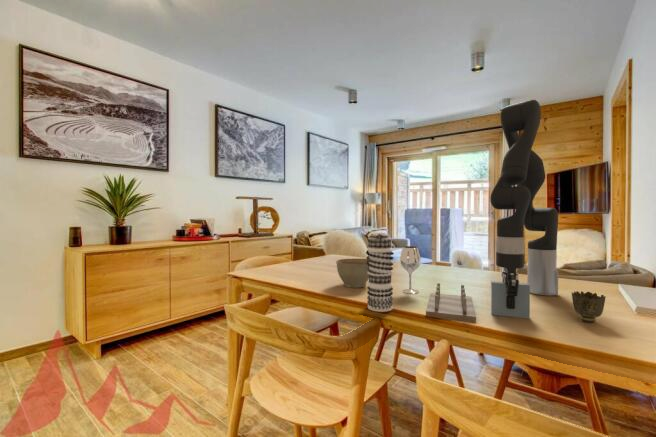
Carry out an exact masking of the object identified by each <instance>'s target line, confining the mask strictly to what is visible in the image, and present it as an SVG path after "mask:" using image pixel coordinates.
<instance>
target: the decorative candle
mask: <svg viewBox="0 0 656 437" xmlns="http://www.w3.org/2000/svg"><path fill="white" fill-rule="evenodd" d="M367 239H368V247H367V250H366V252H365V253H366V255H367V256H366V258H365V259H367V260H368V261H367V265H368V266H369V267H367V270H368V272H367V273H368V274H369V279H368V281H367V284H368V285H367V294H368V295H367V298H366V299H367V302H366V303H367V309H368V310H370V311H373V312H378V313H379V312H390V311H392V310H393V309H394V307H393V304H394V302H393V301H394V298H393V294H394V293H393V289H394V287H393V281H392V275H393V271H392V270H394V268H393V267H392V266H394V262H392V261H393V260H394V259H395V258H394V257H393V256H394V254H395V253H394V252H393V251H392V250H393V248H392V238H391V237H390V235H389V233H382V232H381V233H380V232H379V233H378V232H376V233H371V234H370V235H369V237H367Z"/></svg>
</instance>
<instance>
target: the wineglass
mask: <svg viewBox="0 0 656 437" xmlns="http://www.w3.org/2000/svg"><path fill="white" fill-rule="evenodd" d="M421 259H422V258H421V255H420V250H419V247H418V246H414V245H413V246H411V245H410V246H409V245H408V246H407V245H405V246H403V247H402V249H401V252H400V257H399V264H400V266H401V267H402V268H403V269H404V270H405V271H407V273H408V276H409V277H408V284H409V285H408V288H405V289H404V288H403V289H402V290H401V291H402V292H403V293H405V294H410V295H411V294H412V295H415V294H416V295H417V294H419V290H417V289H412V274H413V272H415V271H416V270H417V269H418V268H419V267H420V265H421V262H422V260H421Z"/></svg>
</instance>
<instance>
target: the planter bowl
mask: <svg viewBox="0 0 656 437" xmlns="http://www.w3.org/2000/svg"><path fill="white" fill-rule="evenodd" d="M367 261H368V260H367V259H366V258H342V259H338V260H336V262H335V263H336V270H337V274H338V276H339V278H340V280H341V281H342V283H343V286H344V287H347V288H357V289H358V288H362V287H363V288H364V287H365V286H366V285H367V283H368V281H369V274H368V273H367V272H368V270H367V267H369V266H368V265H367Z"/></svg>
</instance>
